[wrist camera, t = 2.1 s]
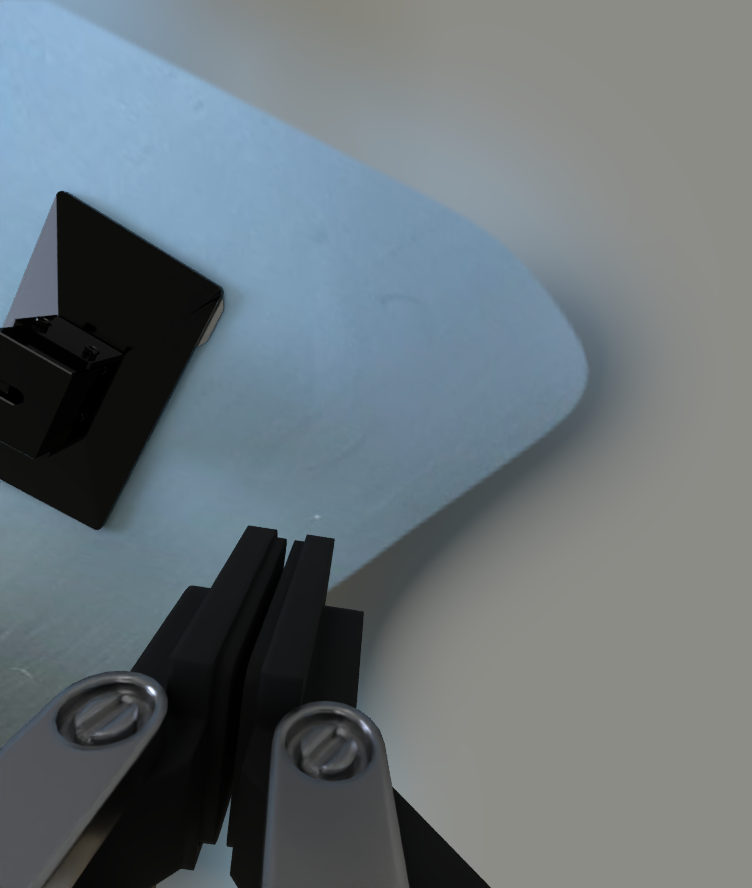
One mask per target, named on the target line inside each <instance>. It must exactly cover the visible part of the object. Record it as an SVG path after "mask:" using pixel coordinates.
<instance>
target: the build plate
mask: <svg viewBox="0 0 752 888" xmlns="http://www.w3.org/2000/svg"><path fill="white" fill-rule="evenodd" d="M223 294H224V291H223V288H222V287H221V286H219V285H218V284H216V283H215V282H213V281H211V280H210V279H208V278H206V277H205V276H203V275H202V274H200V273H198V272H197V271H195V270H193V269H192V268H190V267H189V266H187V265H185V264H184V263H182V262H180V261H179V260H177V259H176V258H174V257H172V256H171V255H169V254H167V253H166V252H164V251H163V250H161V249H159V248H158V247H156V246H155V245H153V244H151V243H150V242H148V241H146V240H145V239H143V238H142V237H140V236H138V235H137V234H135V233H133V232H132V231H130V230H129V229H127V228H125V227H124V226H122V225H120V224H119V223H117V222H116V221H114V220H112V219H111V218H109V217H107V216H106V215H104V214H103V213H101V212H99V211H98V210H96V209H95V208H93V207H91V206H90V205H88V204H86V203H85V202H83V201H82V200H80V199H78V198H77V197H75V196H73V195H72V194H70V193H68V192H64V191H60V192H58V193H57V194H56V197H55V199H54V202H53V204H52V207H51V209H50V212H49V214H48V217H47V219H46V222H45V224H44V226H43V229H42V231H41V234H40V236H39V239H38V241H37V244H36V246H35V249H34V251H33V254H32V256H31V259H30V261H29V264H28V266H27V269H26V271H25V273H24V276H23V278H22V281H21V283H20V286H19V288H18V291H17V293H16V296H15V298H14V301H13V303H12V306H11V308H10V311H9V313H8V316H7V318H6V320H5V323H4V325H3V328H0V479H1V480H3V481H5V482H6V483H8V484H10V485H12V486H14V487H16V488H18V489H20V490H21V491H23V492H25V493H27V494H29V495H31V496H33V497H35V498H36V499H38V500H40V501H42V502H44V503H46V504H48V505H50V506H51V507H53V508H55V509H57V510H59V511H61V512H63V513H65V514H67V515H68V516H70V517H72V518H74V519H76V520H78V521H80V522H82V523H83V524H85V525H87V526H89V527H91V528H93V529H95V530H99V529H101V528H102V527H103V526H104V525H105V524H106V522H107V520H108V518H109V516H110V514H111V512H112V510H113V508H114V506H115V504H116V502H117V500H118V498H119V497H120V495H121V493H122V491H123V489H124V487H125V485H126V483H127V481H128V479H129V477H130V475H131V473H132V471H133V469H134V467H135V465H136V464H137V462H138V460H139V458H140V456H141V454H142V452H143V450H144V448H145V446H146V444H147V442H148V440H149V438H150V436H151V434H152V432H153V431H154V429H155V427H156V425H157V423H158V421H159V419H160V417H161V415H162V413H163V411H164V409H165V407H166V405H167V403H168V401H169V399H170V398H171V396H172V394H173V392H174V390H175V388H176V386H177V384H178V382H179V380H180V378H181V376H182V374H183V372H184V370H185V368H186V366H187V365H188V363H189V361H190V359H191V357H192V355H193V353H194V351H195V349H196V347H198V346H200V345H202V344H203V343H205V342H207V341H208V339H209V337H210V335H211V333H212V331H213V329H214V327H215V325H216V323H217V321H218V319H219V317H220V316H221V314H222V312H223V310H224V303H223Z"/></svg>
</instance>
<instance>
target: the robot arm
mask: <svg viewBox="0 0 752 888" xmlns="http://www.w3.org/2000/svg"><path fill="white" fill-rule="evenodd" d="M277 536H278V532H277V530H275V529H268V528H262V527H255V526H248V527H247V528H246V530H245V532H244V533H243V535H242V537H241V538H240V540H239V542H238V543H237V545H236V547H235V548H234V550H233V552H232V553H231V555H230V557H229V558H228V560H227V562H226V563H225V565H224V567H223V568H222V570H221V572H220V573H219V575H218V577H217V578H216V580H215V582H214V583H213V585H212V587H211V588H205V587H199V586H189V587H188V588H187V589H186V590H185V591H184V593H183V594H182V596H181V597H180V599H179V600H178V602H177V603H176V605H175V606H174V608H173V609H172V611H171V612H170V614H169V615H168V616H167V618H166V619H165V621H164V622H163V624H162V625H161V627H160V628H159V630H158V631H157V633H156V634H155V636H154V637H153V639H152V640H151V642H150V643H149V644H148V646H147V647H146V649H145V650H144V652H143V653H142V655H141V656H140V658H139V659H138V661H137V662H136V664H135V665H134V667H133V668H132V669H131V671H130V672H129V671H114V672H104V673H100V674H96V675H93V676H89V677H86V678H84V679H82V680H80V681H78V682H75V683H73V684H71V685H70V686H68V687H67V688H66V689H64V690H63V691H61V692H60V693H59V694H57V695H56V696H55V697H54V698H53V699H52V700H51V701H50V702H49V703H47V704H46V705H45V706H44V707H43V708H42V709H41V710H40V711H39V712H38V713H37V714H36V715H35V716H34V717H33V718H32V719H30V720H29V721H28V722H27V723H26V724H25V725H24V726H23V727H22V728H21V729H20V730H19V731H18V732H17V733H16V734H14V735H13V736H12V737H11V738H10V739H9V740H8V741H7V742H6V743H5V744H4V745H3V746H2V747H1V748H0V888H156V884H158V883H159V882H161V881H162V880H164V879H165V878H167V877H168V876H170V875H172V874H173V873H175V872H176V871H178V870H179V869H187V870H194V868H195V865H196V862H197V859H198V856H199V853H200V850H201V847H202V844H203V843H206V844H214V845H215V844H216V842H217V840H218V837H219V834H220V831H221V828H222V824H223V821H224V818H225V815H226V811H227V808H228V805H229V802H230V798H231V806H230V816H229V825H228V834H227V846H228V847H233V852H232V861H231V869H230V876H231V877H232V879H233V881H234V882H235V884H236V885H237V887H238V888H491V887H490V886H489V885H488V884H487V883H486V882H485V881H484V880H483V879H482V878H481V877H480V876H479V875H478V874H477V873H476V872H475V871H474V870H473V869H472V868H471V867H470V866H469V865H468V864H467V863H466V862H465V861H464V860H463V859H462V858H461V857H460V856H459V854H457V853H456V852H455V850H454V849H453V848H452V847H451V846H450V845H449V844H448V843H447V842H446V841H445V840H444V839H443V838H442V837H441V836H440V835H439V834H438V833H437V832H436V831H435V830H434V829H433V828H432V827H431V826H430V825H429V824H428V823H427V822H426V821H425V820H424V819H423V818H422V817H421V816H420V815H419V813H418V812H417V811H416V810H414V808H413V807H412V806H411V805H410V804H409V803H408V802H407V801H406V800H405V799H404V798H403V797H402V796H401V795H400V794H399V793H398V792H397V791H396V790H395V789H394V788H393V787H392V783H391V777H390V772H389V766H388V760H387V754H386V748H385V743H384V741H383V738H382V735H381V732H380V730H379V729H378V727H377V726H376V725H375V723H374V722H373V721H372V720H371V718H369V717H368V716H366V715H365V714H364V713H362V712H361V711H360V710H358V709H356V705H357V692H358V680H359V666H360V653H361V641H362V629H363V616H364V612H363V611H357V610H350V609H344V608H337V607H330V606H325V602H326V595H327V588H328V582H329V575H330V568H331V562H332V555H333V548H334V541H335V539H333V538H327V537H320V536H314V535H307V536H306V539H305V542H304V541H297V540H295V541H294V543H293V546H292V549H291V551H290V554H289V557H288V559H287V562H286V565H285V567H284V562H285V554H286V545H287V539H284V538H278V537H277ZM231 795H232V797H231Z"/></svg>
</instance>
